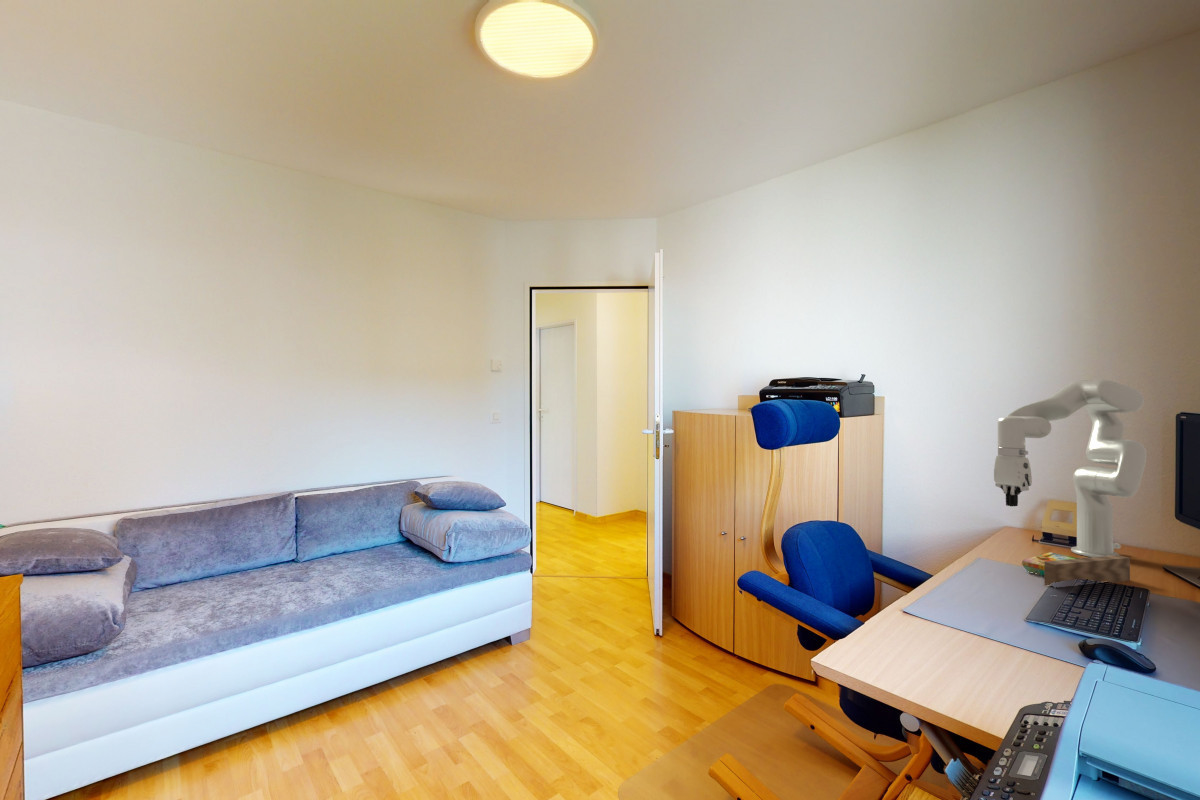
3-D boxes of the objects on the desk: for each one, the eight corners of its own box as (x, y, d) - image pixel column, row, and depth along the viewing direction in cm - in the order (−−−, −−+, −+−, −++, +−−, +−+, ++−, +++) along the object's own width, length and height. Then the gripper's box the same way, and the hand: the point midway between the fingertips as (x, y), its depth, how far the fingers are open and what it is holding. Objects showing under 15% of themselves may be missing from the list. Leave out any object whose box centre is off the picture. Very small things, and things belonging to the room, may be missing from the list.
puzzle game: (1022, 558, 169) (1049, 549, 179) (1022, 572, 169) (1049, 563, 179) (1068, 568, 159) (1094, 558, 169) (1068, 583, 159) (1094, 573, 169)
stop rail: (1118, 577, 164) (1118, 555, 164) (1129, 580, 161) (1129, 557, 161) (1044, 585, 156) (1044, 561, 156) (1055, 588, 153) (1055, 564, 153)
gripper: (1042, 454, 175) (1043, 509, 175) (998, 450, 189) (999, 501, 189) (1025, 455, 173) (1025, 510, 173) (982, 451, 188) (982, 502, 187)
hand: (1011, 505), depth 181 cm, fingers closed
